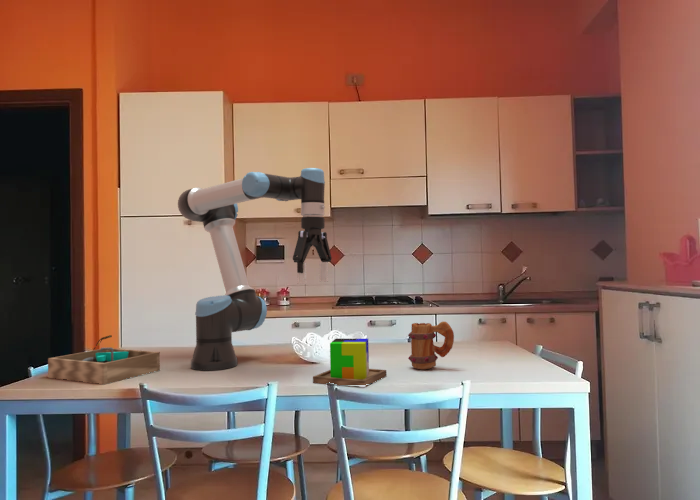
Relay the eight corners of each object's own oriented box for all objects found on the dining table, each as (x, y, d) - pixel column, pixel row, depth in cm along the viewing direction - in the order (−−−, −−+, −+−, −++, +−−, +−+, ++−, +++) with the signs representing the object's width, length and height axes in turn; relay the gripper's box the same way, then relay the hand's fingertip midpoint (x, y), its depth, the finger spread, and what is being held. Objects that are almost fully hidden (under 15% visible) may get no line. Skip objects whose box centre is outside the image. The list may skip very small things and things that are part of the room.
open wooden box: (48, 377, 168) (48, 358, 169) (106, 365, 188) (106, 348, 188) (103, 384, 157) (103, 363, 157) (159, 370, 176) (159, 352, 176)
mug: (405, 370, 169) (404, 322, 170) (412, 365, 177) (411, 319, 177) (451, 372, 164) (450, 323, 164) (456, 367, 171) (455, 320, 172)
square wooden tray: (313, 382, 154) (313, 376, 154) (339, 372, 168) (339, 366, 168) (363, 387, 147) (363, 381, 147) (386, 376, 161) (386, 370, 161)
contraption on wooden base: (68, 382, 162) (68, 332, 162) (93, 370, 180) (93, 325, 180) (116, 380, 163) (115, 330, 163) (136, 368, 181) (136, 323, 181)
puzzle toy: (368, 371, 162) (368, 338, 162) (365, 379, 152) (364, 343, 152) (336, 371, 163) (335, 338, 163) (330, 378, 153) (329, 343, 153)
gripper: (302, 213, 161) (302, 284, 160) (341, 218, 183) (341, 281, 182) (281, 214, 164) (281, 284, 164) (322, 219, 186) (322, 280, 186)
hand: (313, 282), depth 173 cm, fingers open, 13 cm apart
